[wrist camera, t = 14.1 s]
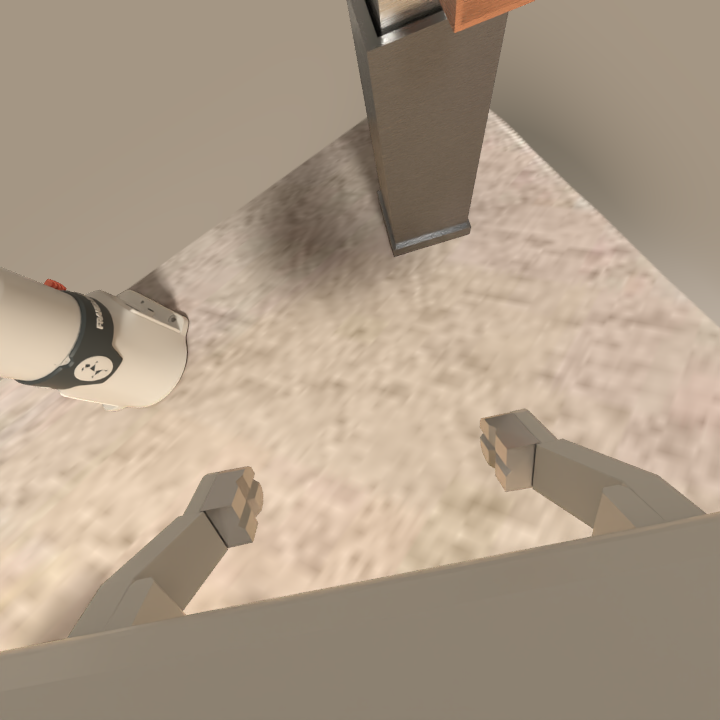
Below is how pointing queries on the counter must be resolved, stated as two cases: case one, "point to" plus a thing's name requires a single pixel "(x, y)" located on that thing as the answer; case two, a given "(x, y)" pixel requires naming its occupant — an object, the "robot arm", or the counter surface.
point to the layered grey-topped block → (460, 4)
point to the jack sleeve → (426, 119)
